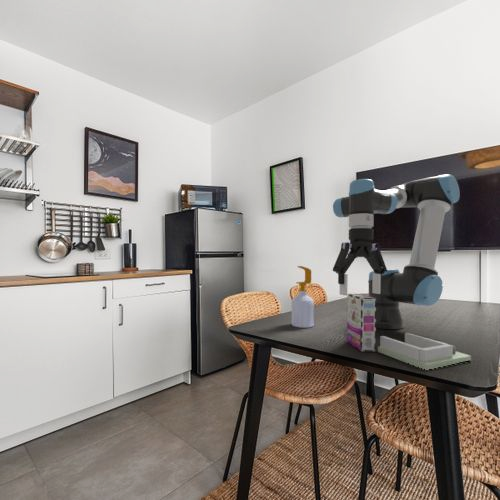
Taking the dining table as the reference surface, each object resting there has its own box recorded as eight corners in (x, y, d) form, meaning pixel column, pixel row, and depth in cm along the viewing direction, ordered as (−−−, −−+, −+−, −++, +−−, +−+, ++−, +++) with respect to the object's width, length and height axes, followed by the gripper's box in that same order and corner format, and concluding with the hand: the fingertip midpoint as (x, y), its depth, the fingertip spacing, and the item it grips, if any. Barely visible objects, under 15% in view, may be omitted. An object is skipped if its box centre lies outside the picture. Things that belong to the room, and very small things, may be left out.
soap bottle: (287, 324, 127) (287, 265, 127) (305, 322, 131) (305, 265, 131) (299, 329, 119) (299, 266, 119) (318, 326, 122) (318, 266, 123)
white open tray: (419, 345, 99) (419, 331, 99) (471, 361, 84) (471, 345, 84) (377, 351, 92) (377, 336, 92) (426, 370, 77) (426, 352, 77)
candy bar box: (377, 352, 92) (377, 297, 92) (361, 352, 91) (361, 298, 91) (360, 341, 103) (360, 293, 103) (346, 341, 102) (346, 293, 103)
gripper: (337, 225, 89) (336, 297, 89) (398, 229, 99) (398, 294, 98) (321, 227, 96) (321, 293, 96) (380, 230, 106) (380, 291, 105)
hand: (360, 294), depth 97 cm, fingers open, 13 cm apart
